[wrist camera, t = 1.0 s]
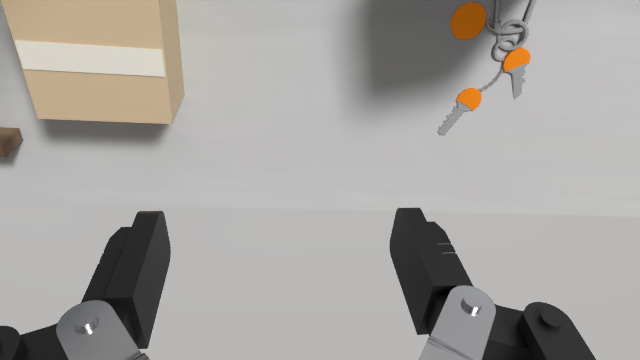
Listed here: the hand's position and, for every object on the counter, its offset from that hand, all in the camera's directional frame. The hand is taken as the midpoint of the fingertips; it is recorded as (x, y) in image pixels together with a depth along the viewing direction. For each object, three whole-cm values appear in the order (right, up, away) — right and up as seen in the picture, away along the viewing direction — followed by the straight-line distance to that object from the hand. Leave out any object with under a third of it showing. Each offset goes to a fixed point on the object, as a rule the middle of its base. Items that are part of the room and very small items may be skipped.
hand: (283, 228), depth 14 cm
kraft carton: (-12, +12, +14) cm, 22 cm away
